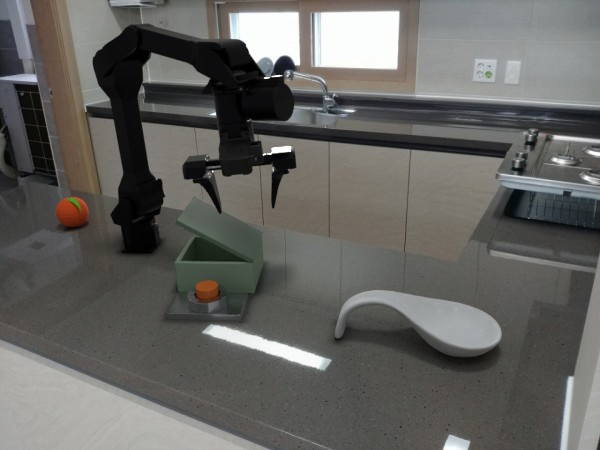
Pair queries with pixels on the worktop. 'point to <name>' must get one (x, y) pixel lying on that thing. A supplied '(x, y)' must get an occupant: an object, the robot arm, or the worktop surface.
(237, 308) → the control panel
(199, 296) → the button
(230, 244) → the lid
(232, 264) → the fryer
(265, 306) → the worktop surface
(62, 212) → the clementine
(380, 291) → the spoon rest
